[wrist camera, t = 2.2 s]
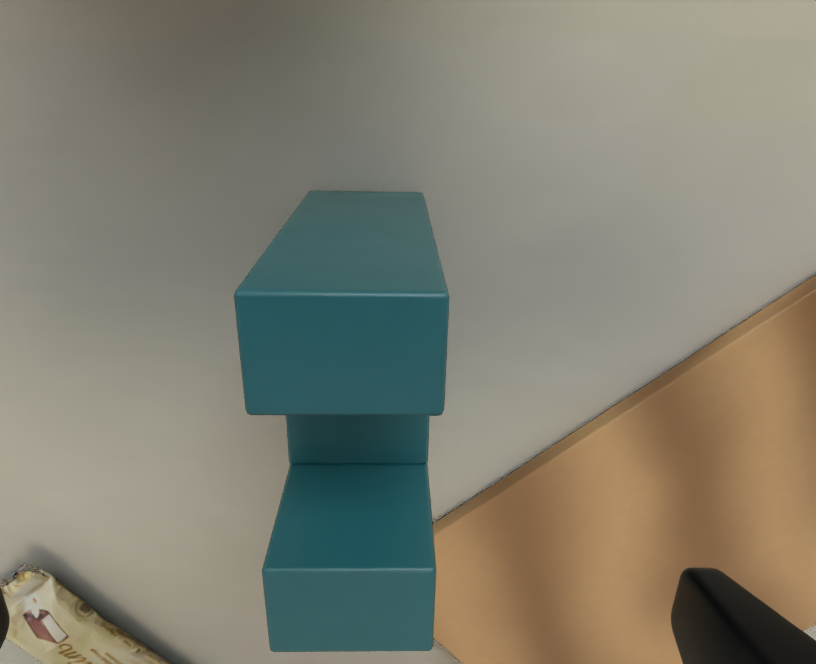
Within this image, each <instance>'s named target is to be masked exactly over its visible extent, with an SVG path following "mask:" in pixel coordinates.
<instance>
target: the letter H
mask: <svg viewBox="0 0 816 664" xmlns="http://www.w3.org/2000/svg"><path fill="white" fill-rule="evenodd" d="M234 300H235V310H236V320H237V330H238V340H239V350H240V359H241V369H242V379H243V389H244V399H245V409H246V411H247V413H248V414H250V415H286V424H287V438H288V452H289V462H290V467H289V471H288V475H287V478H286V482H285V486H284V490H283V493H282V497H281V501H280V505H279V508H278V512H277V516H276V520H275V523H274V527H273V531H272V535H271V538H270V542H269V546H268V550H267V553H266V557H265V561H264V565H263V568H262V576H263V586H264V596H265V606H266V615H267V625H268V635H269V645H270V650H271V651H273V652H327V651H429V650H431V649H432V646H433V635H434V613H435V592H436V571H437V569H436V558H435V546H434V535H433V524H432V512H431V501H430V489H429V478H428V467H427V462H428V440H429V415H431V416H438V415H441V414H442V413H443V411H444V400H445V379H446V358H447V336H448V315H449V294H448V290H447V286H446V282H445V278H444V274H443V270H442V266H441V262H440V259H439V255H438V251H437V247H436V243H435V239H434V235H433V231H432V227H431V223H430V219H429V215H428V212H427V208H426V204H425V200H424V196H423V193H420V192H357V191H310V192H308V194H307V195H306V196H305V198H304V199H303V200H302V202H301V203H300V204H299V206H298V207H297V209H296V210H295V211H294V213H293V214H292V215H291V217H290V218H289V219H288V221H287V222H286V223H285V225H284V226H283V227H282V229H281V230H280V231H279V233H278V234H277V235H276V237H275V238H274V240H273V241H272V242H271V244H270V245H269V246H268V248H267V249H266V250H265V252H264V253H263V254H262V256H261V257H260V258H259V260H258V261H257V262H256V264H255V265H254V266H253V268H252V269H251V271H250V272H249V273H248V275H247V276H246V277H245V279H244V280H243V281H242V283H241V284H240V285H239V287H238V288H237V289H236V291H235V294H234Z"/></svg>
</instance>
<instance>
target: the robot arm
mask: <svg viewBox="0 0 816 664" xmlns="http://www.w3.org/2000/svg"><path fill="white" fill-rule="evenodd" d="M9 623H10V617H9V611H8V608H7V605H6V602H5V599H4V596H3V593H2V590H1V587H0V649H1V646H2V644H3V642H4V640H5V638H6V635H7V632H8V629H9ZM671 626H672V631H673V634H674V637H675V640H676V644H677V647H678V650H679V653H680V656H681V659H682V662H683V664H816V641H815V640H814V639H813V638H811V637H810V636H809V635H807V634H806V633H804V632H803V631H802V630H800V629H799V628H798V627H796V626H795V625H794V624H792V623H791V622H790V621H788V620H787V619H785V618H784V617H783V616H781V615H780V614H779V613H777V612H776V611H775V610H773V609H772V608H771V607H769V606H768V605H767V604H765V603H764V602H762V601H761V600H760V599H758V598H757V597H756V596H754V595H753V594H752V593H750V592H749V591H748V590H746V589H745V588H743V587H742V586H741V585H739V584H738V583H737V582H735V581H734V580H733V579H731V578H730V577H729V576H727V575H726V574H724V573H723V572H722V571H720V570H718V569H716V568H711V567H690V568H686V569H684V570H683V572H682V573H681V576H680V579H679V583H678V587H677V591H676V595H675V598H674V602H673V606H672V610H671Z"/></svg>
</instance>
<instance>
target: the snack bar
mask: <svg viewBox="0 0 816 664" xmlns="http://www.w3.org/2000/svg"><path fill="white" fill-rule="evenodd" d="M27 566H28V565H27V564H25V565H22V566H20V567H19V569H18V570H17V571H14V572H13V573H12V576H13V578H14V579H16V578H17V579H16V580H13V581H12V582H11V583H10V584H8V583H7V582H8V579H4V580H2V581H1V583H5V584H8V585H4V586H0V587H1V590H2V593H3V596H4V599H5V602H6V605H7V608H8V611H9V617H10V623H9V629H8V632H7V635H6V638H7V639H8V640H10V641H11V642H13V643H14V644H16V645H17V646H19V647H20V648H21V649H23V650H25V651H26V652H28V653H29V654H30V655H32V656H34V657H35V658H36V659H38V660H39V661H40V662H42V663H43V664H172V663H170V662H169V661H167V660H166V659H164V658H163V657H161V656H160V655H158V654H157V653H155V652H154V651H153V650H151V649H150V648H148V647H146V646H145V645H143V644H142V643H141V642H139V641H138V640H137V639H135V638H134V637H132V636H131V635H129V634H127V633H126V632H124V631H122V630H121V629H119V628H118V627H116V626H115V625H113V624H111V623H110V622H108V621H105V620H104V619H103V618H102V617H101V616H99V615H98V614H97V613H96V612H95V610H93V608H92V607H90V606H89V605H87V604H86V603H85V602H84V601H83V600H81V599H80V598H79V597H78V596H76V595H75V594H74V593H72V592H71V591H70V590H68V589H67V588H65V587H64V586H63V585H61V584H60V583H59V582H57V581H56V577H55V576H54V575H53V574H50V573H48V572H46V571H44V570H40V569H39V568H38V567H35V566H30V567H29V568H33V570H38V571H39V572H40V573H37V572H29V571H27V572H26V571H25V572H21V571H22V570H23V569H24V568H25V567H27ZM29 568H28V569H29ZM42 573H44V575H46V576H48V577H46V576H43V575H42Z"/></svg>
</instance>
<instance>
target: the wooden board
mask: <svg viewBox="0 0 816 664" xmlns="http://www.w3.org/2000/svg"><path fill="white" fill-rule="evenodd" d="M433 535H434V546H435V558H436V569H437V571H436V592H435V613H434V635H433V638H434V639H435V640H436V641H437V642H439V643H440V644H441V645H442V646H443V647H444V648H445V649H446V650H448V651H449V652H450V653H451V654H452V655H453V656H454V657H455V658H457V659H458V660H459V661H460V662H461V663H462V664H683V662H682V659H681V656H680V653H679V650H678V647H677V644H676V640H675V637H674V634H673V631H672V626H671V610H672V606H673V602H674V598H675V595H676V591H677V587H678V583H679V579H680V576H681V573H682V572H683V570H684V569H686V568H690V567H711V568H716V569H718V570H720V571H722V572H723V573H724V574H726V575H727V576H729V577H730V578H731V579H733V580H734V581H735V582H737V583H738V584H739V585H741V586H742V587H743V588H745V589H746V590H748V591H749V592H750V593H752V594H753V595H754V596H756V597H757V598H758V599H760V600H761V601H762V602H764V603H765V604H767V605H768V606H769V607H771V608H772V609H773V610H775V611H776V612H777V613H779V614H780V615H781V616H783V617H784V618H785V619H787V620H788V621H790V622H791V623H792V624H794V625H795V626H796V627H798V628H799V629H800V630H802V631H804V630H806V629H808V628H810V627H812V626H814V625H816V275H814V276H813V277H811V278H810V279H808V280H807V281H805V282H803V283H802V284H800V285H799V286H797V287H796V288H794V289H793V290H791V291H790V292H788V293H787V294H785V295H784V296H782V297H780V298H779V299H777V300H776V301H774V302H773V303H771V304H770V305H768V306H767V307H765V308H764V309H762V310H761V311H759V312H757V313H756V314H754V315H753V316H751V317H750V318H748V319H747V320H745V321H744V322H742V323H741V324H739V325H737V326H736V327H734V328H733V329H731V330H730V331H728V332H727V333H725V334H724V335H722V336H721V337H719V338H718V339H716V340H714V341H713V342H711V343H710V344H708V345H707V346H705V347H704V348H702V349H701V350H699V351H698V352H696V353H695V354H693V355H691V356H690V357H688V358H687V359H685V360H684V361H682V362H681V363H679V364H678V365H676V366H675V367H673V368H671V369H670V370H668V371H667V372H665V373H664V374H662V375H661V376H659V377H658V378H656V379H655V380H653V381H652V382H650V383H648V384H647V385H645V386H644V387H642V388H641V389H639V390H638V391H636V392H635V393H633V394H632V395H630V396H629V397H627V398H625V399H624V400H622V401H621V402H619V403H618V404H616V405H615V406H613V407H612V408H610V409H609V410H607V411H606V412H604V413H602V414H601V415H599V416H598V417H596V418H595V419H593V420H592V421H590V422H589V423H587V424H586V425H584V426H582V427H581V428H579V429H578V430H576V431H575V432H573V433H572V434H570V435H569V436H567V437H566V438H564V439H563V440H561V441H559V442H558V443H556V444H555V445H553V446H552V447H550V448H549V449H547V450H546V451H544V452H543V453H541V454H540V455H538V456H536V457H535V458H533V459H532V460H530V461H529V462H527V463H526V464H524V465H523V466H521V467H520V468H518V469H516V470H515V471H513V472H512V473H510V474H509V475H507V476H506V477H504V478H503V479H501V480H500V481H498V482H497V483H495V484H493V485H492V486H490V487H489V488H487V489H486V490H484V491H483V492H481V493H480V494H478V495H477V496H475V497H474V498H472V499H470V500H469V501H467V502H466V503H464V504H463V505H461V506H460V507H458V508H457V509H455V510H454V511H452V512H450V513H449V514H447V515H446V516H444V517H443V518H441V519H440V520H438V521H437V522H435V523H434V524H433Z"/></svg>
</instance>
